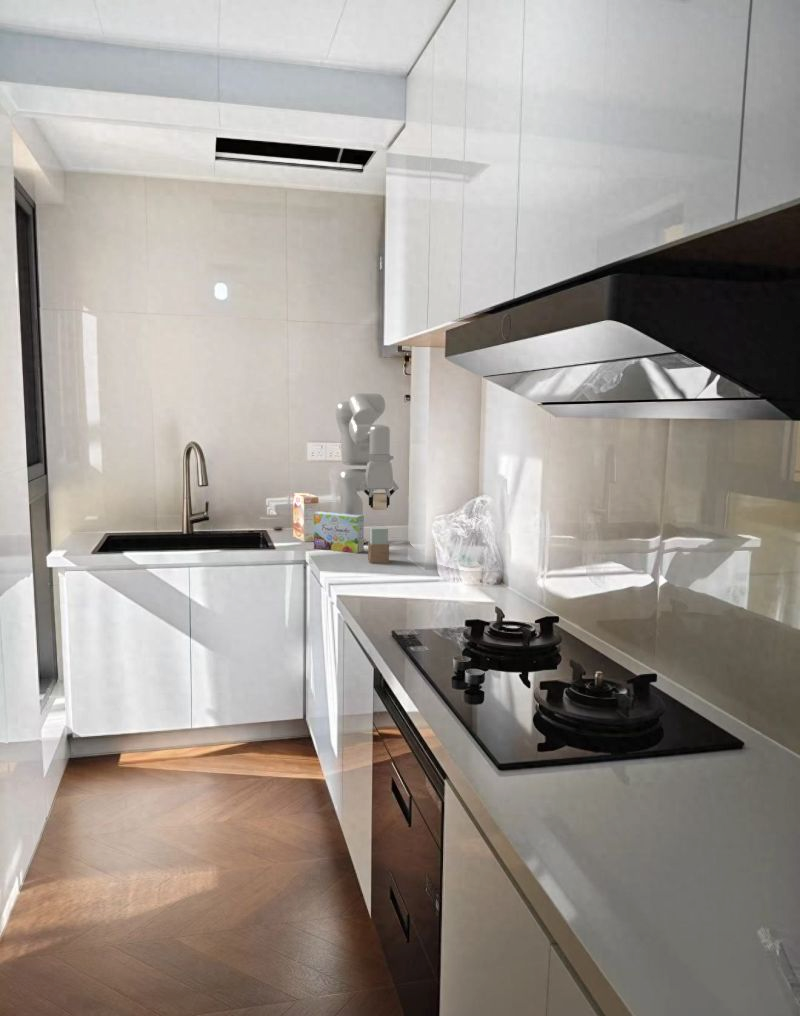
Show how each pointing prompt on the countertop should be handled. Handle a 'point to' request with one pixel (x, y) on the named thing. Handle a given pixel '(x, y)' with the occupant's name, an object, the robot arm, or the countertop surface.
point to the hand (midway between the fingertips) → (379, 506)
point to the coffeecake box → (304, 516)
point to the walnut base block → (378, 553)
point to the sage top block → (378, 535)
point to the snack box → (339, 532)
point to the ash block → (379, 501)
